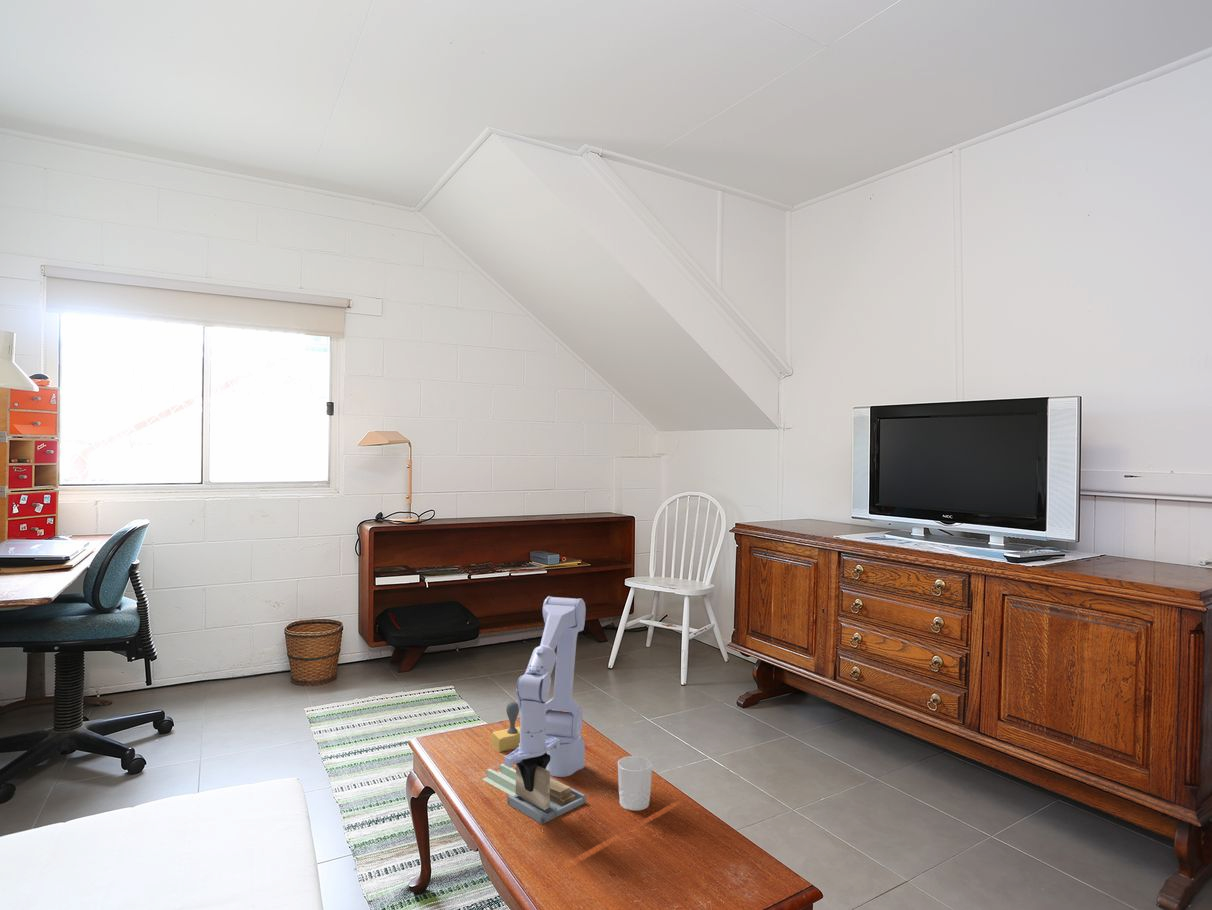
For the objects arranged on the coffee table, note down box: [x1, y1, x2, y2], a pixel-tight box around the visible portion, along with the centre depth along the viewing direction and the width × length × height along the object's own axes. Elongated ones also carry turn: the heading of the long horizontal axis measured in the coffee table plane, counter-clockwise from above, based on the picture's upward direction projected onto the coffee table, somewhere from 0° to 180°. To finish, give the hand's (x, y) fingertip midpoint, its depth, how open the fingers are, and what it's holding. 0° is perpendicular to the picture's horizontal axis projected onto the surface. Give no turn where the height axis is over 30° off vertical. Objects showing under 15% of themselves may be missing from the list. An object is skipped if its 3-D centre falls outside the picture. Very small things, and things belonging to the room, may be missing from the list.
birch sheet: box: [515, 764, 551, 810], centre depth 159 cm, size 2×10×8 cm, turn 46°
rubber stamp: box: [491, 701, 520, 753], centre depth 196 cm, size 10×6×12 cm, turn 121°
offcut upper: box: [550, 779, 571, 798], centre depth 165 cm, size 3×6×1 cm, turn 52°
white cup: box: [617, 755, 653, 811], centre depth 163 cm, size 8×8×10 cm
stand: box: [481, 763, 517, 796], centre depth 172 cm, size 8×12×3 cm, turn 46°
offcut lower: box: [550, 793, 575, 807], centre depth 165 cm, size 4×8×1 cm, turn 46°
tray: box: [507, 776, 586, 825], centre depth 162 cm, size 13×12×3 cm
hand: (532, 788), depth 159 cm, fingers closed on birch sheet, 1 cm apart
